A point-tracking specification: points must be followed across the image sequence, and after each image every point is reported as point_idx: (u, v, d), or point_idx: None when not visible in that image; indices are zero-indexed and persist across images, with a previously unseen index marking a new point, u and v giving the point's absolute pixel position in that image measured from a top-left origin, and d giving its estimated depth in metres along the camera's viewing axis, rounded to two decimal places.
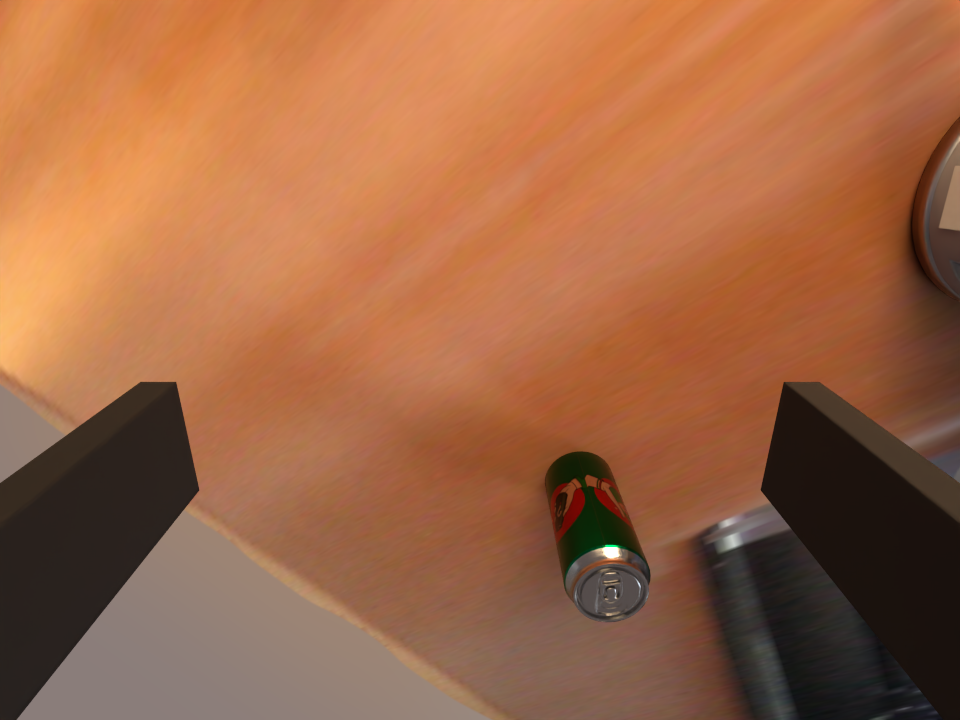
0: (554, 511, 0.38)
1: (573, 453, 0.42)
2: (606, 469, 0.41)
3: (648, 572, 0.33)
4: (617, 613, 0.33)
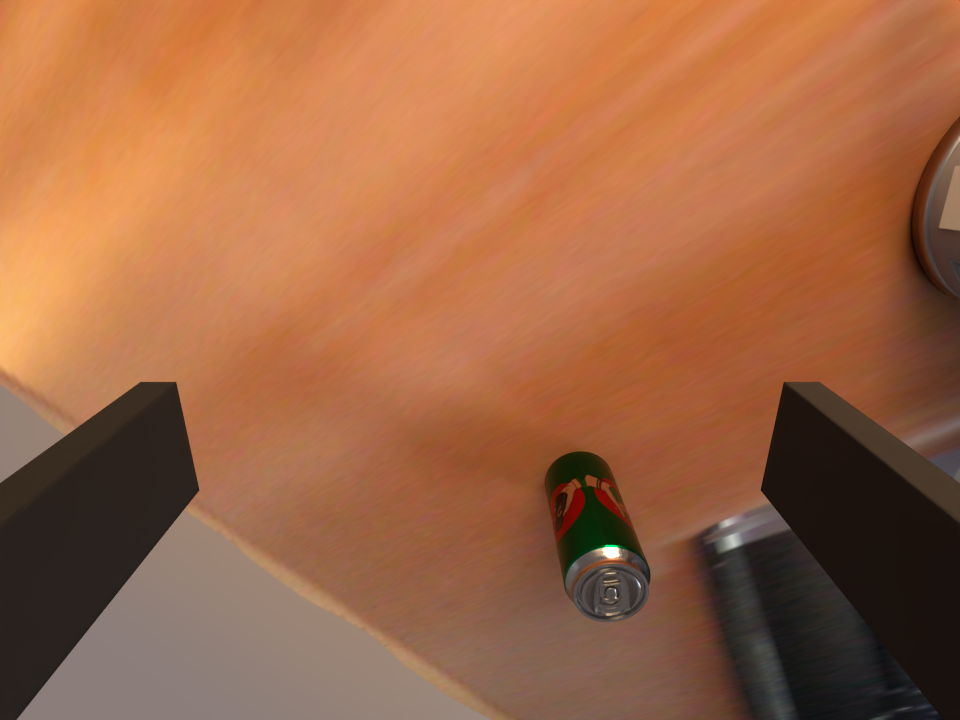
0: (554, 511, 0.38)
1: (573, 453, 0.42)
2: (606, 469, 0.41)
3: (648, 572, 0.33)
4: (617, 613, 0.33)
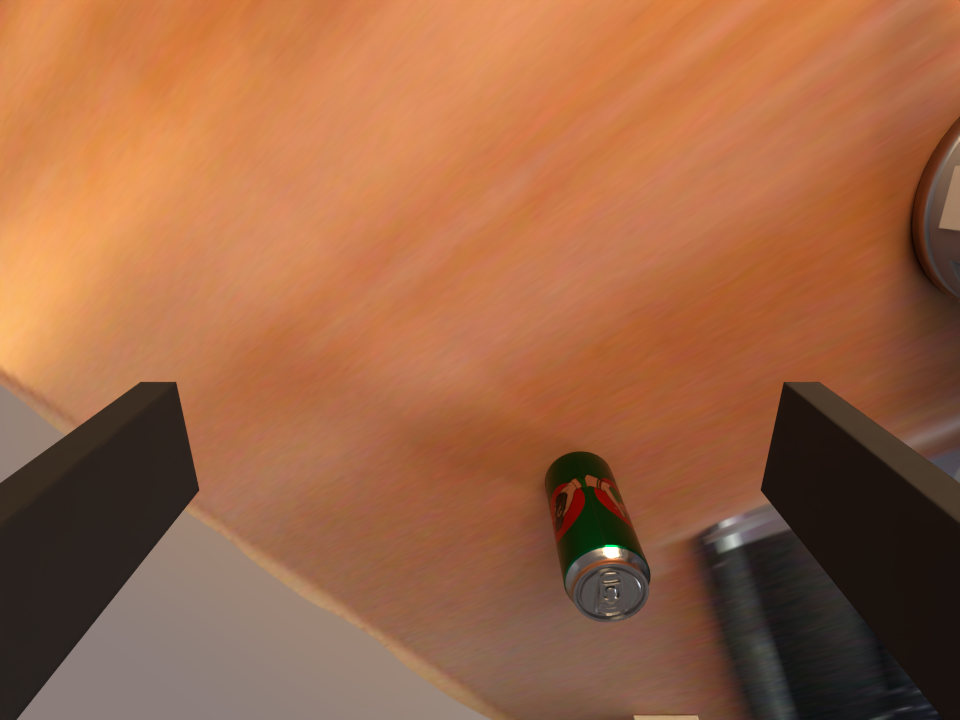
0: (554, 511, 0.38)
1: (573, 453, 0.42)
2: (606, 469, 0.41)
3: (648, 572, 0.33)
4: (617, 613, 0.33)
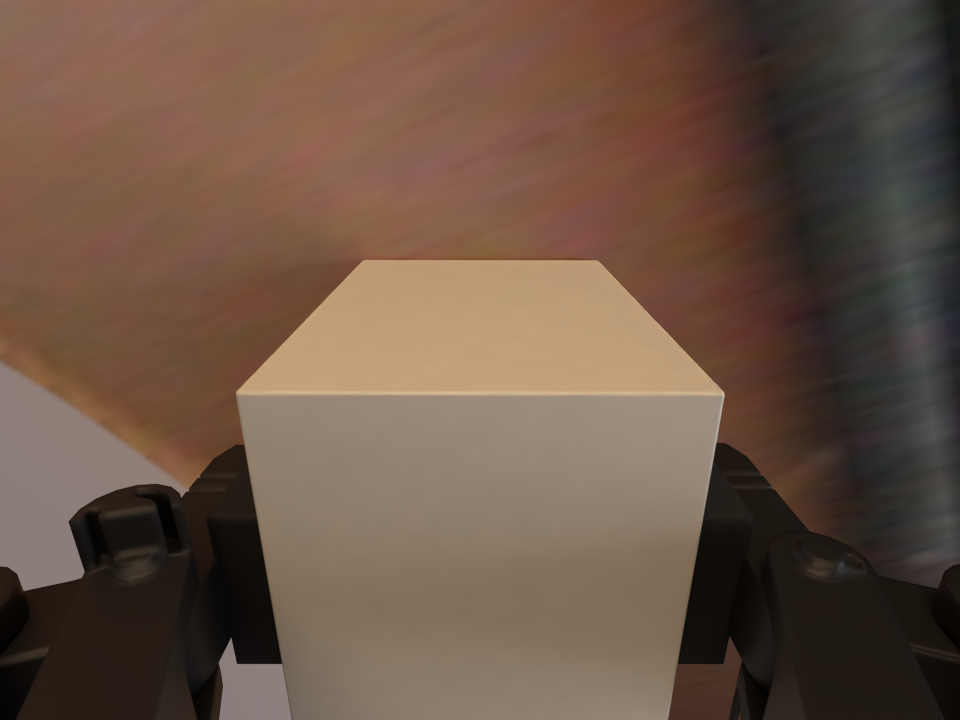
0: None
1: None
2: None
3: None
4: None
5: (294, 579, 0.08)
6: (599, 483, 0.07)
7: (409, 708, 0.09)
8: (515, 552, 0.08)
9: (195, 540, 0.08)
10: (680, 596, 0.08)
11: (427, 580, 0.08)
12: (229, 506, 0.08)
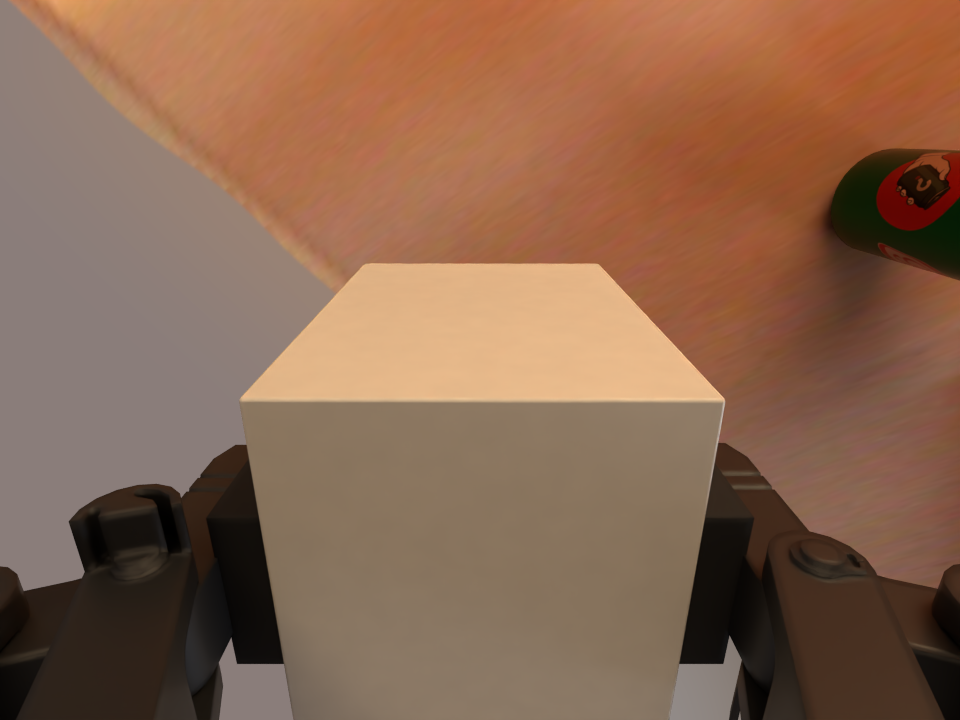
0: (902, 195, 0.24)
1: (887, 149, 0.28)
2: None
3: None
4: None
5: (297, 584, 0.08)
6: (600, 489, 0.07)
7: (411, 712, 0.09)
8: (516, 557, 0.08)
9: (195, 540, 0.08)
10: (681, 601, 0.08)
11: (429, 585, 0.08)
12: (229, 506, 0.08)
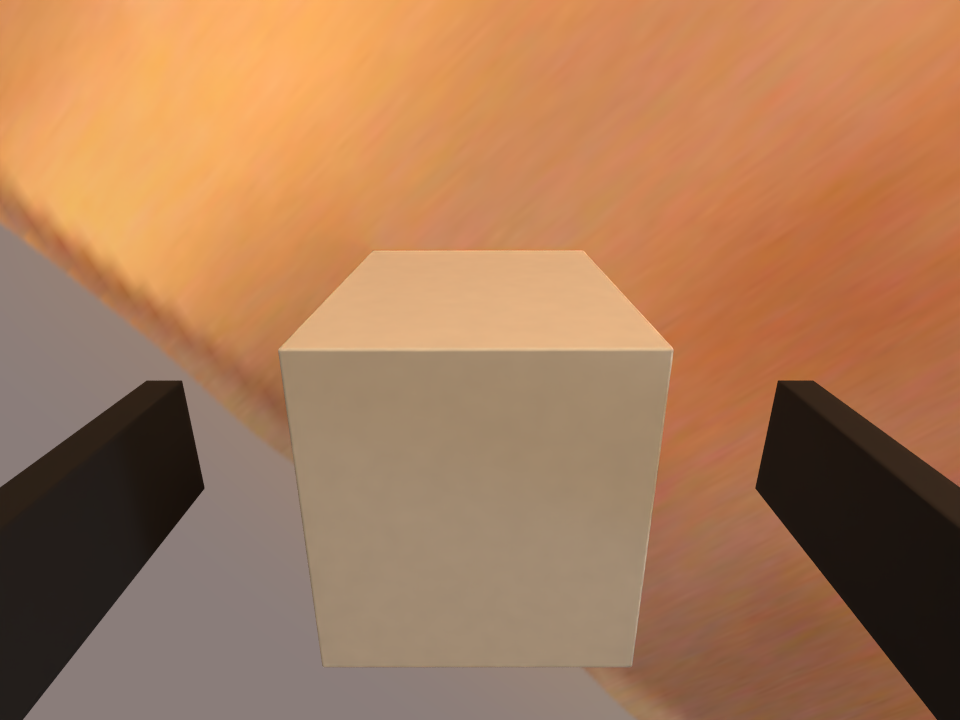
0: None
1: None
2: None
3: None
4: None
5: (322, 508, 0.10)
6: (573, 424, 0.09)
7: (417, 623, 0.10)
8: (505, 484, 0.09)
9: None
10: (643, 523, 0.10)
11: (433, 509, 0.10)
12: None
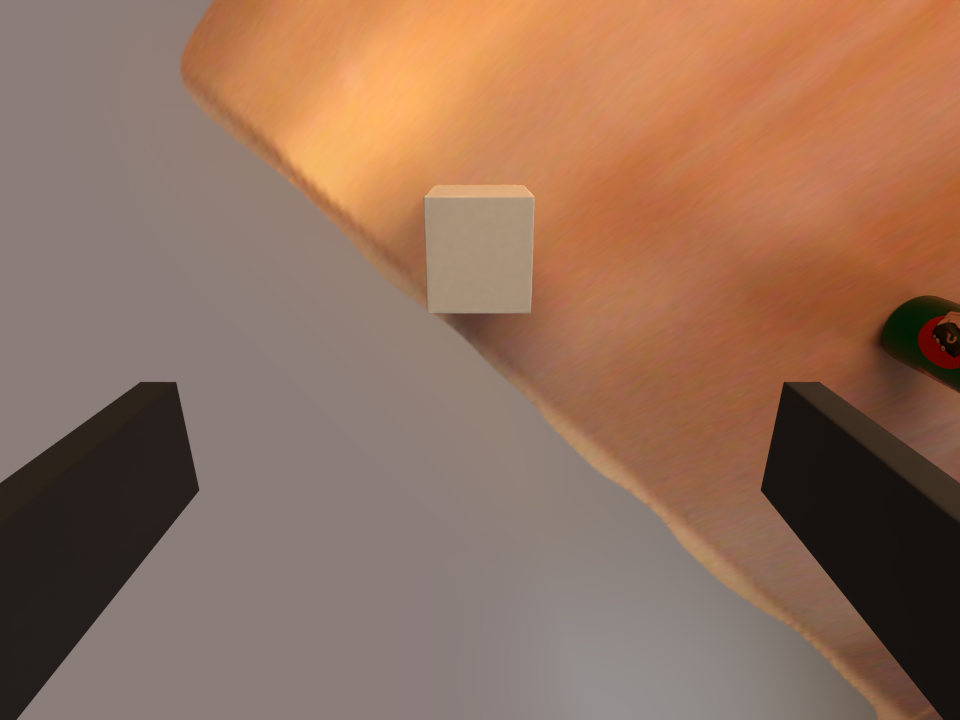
0: (936, 342, 0.36)
1: (922, 297, 0.40)
2: None
3: None
4: None
5: (432, 250, 0.32)
6: (507, 221, 0.31)
7: (460, 294, 0.33)
8: (487, 241, 0.31)
9: None
10: (530, 255, 0.32)
11: (466, 250, 0.32)
12: None
